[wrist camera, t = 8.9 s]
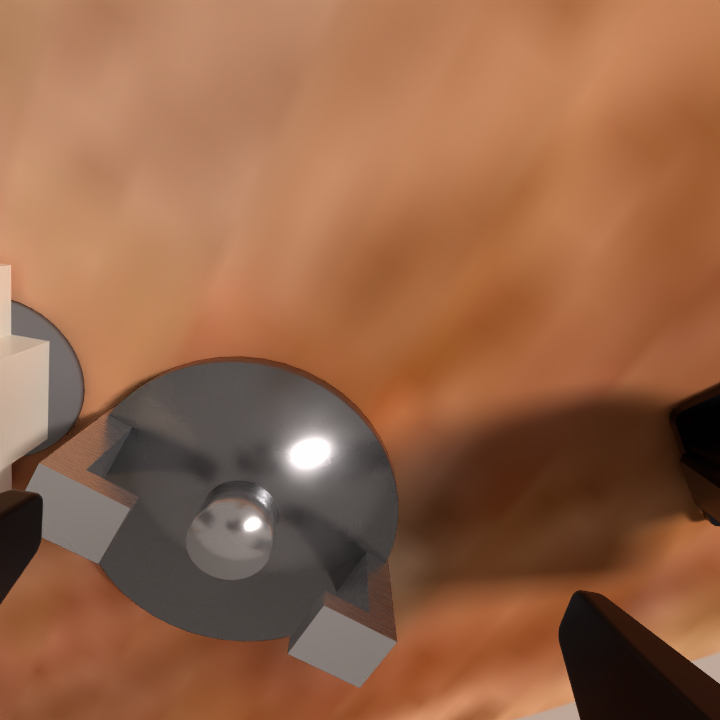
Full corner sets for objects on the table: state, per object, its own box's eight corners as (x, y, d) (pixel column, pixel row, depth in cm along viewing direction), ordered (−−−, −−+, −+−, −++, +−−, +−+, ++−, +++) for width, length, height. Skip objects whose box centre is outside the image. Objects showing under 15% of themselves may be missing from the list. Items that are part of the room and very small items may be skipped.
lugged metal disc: (42, 543, 22) (-50, 637, 17) (176, 293, 19) (113, 316, 14) (298, 665, 24) (285, 778, 19) (455, 458, 21) (488, 530, 16)
